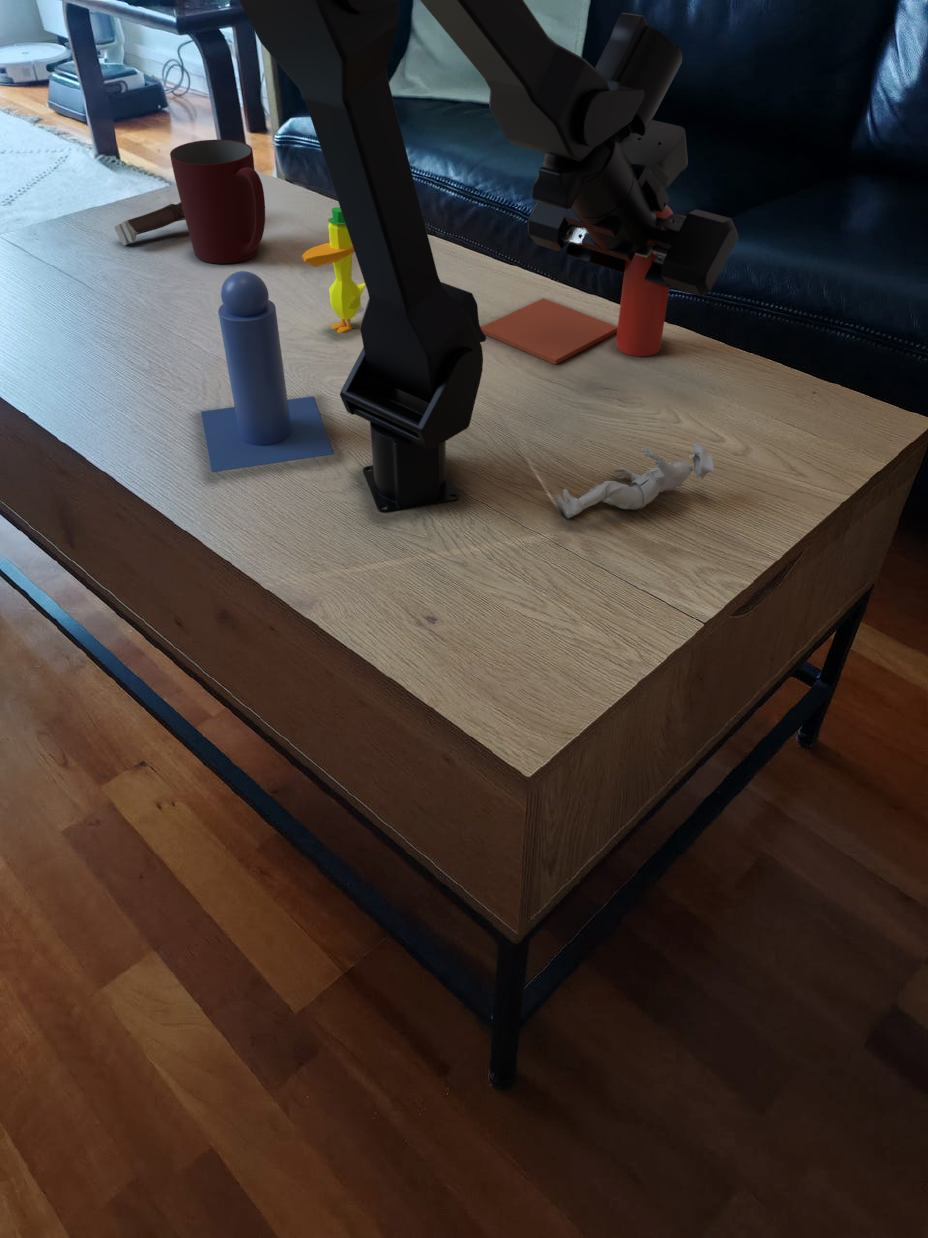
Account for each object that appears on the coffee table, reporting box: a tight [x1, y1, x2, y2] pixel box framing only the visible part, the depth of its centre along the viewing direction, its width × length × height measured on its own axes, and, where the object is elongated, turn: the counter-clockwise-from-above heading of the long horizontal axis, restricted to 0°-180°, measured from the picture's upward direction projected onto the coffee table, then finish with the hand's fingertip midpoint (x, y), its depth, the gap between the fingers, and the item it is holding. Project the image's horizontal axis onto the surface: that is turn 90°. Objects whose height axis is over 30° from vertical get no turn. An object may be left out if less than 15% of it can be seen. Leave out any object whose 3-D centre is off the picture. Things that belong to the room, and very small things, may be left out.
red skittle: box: [615, 205, 674, 357], centre depth 92 cm, size 4×4×14 cm
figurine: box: [114, 201, 186, 246], centre depth 116 cm, size 8×5×15 cm
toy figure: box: [301, 206, 366, 334], centre depth 94 cm, size 7×4×12 cm, turn 129°
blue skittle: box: [217, 270, 291, 445], centre depth 78 cm, size 4×4×14 cm
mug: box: [169, 139, 266, 264], centre depth 109 cm, size 12×9×11 cm
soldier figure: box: [555, 442, 715, 519], centre depth 75 cm, size 8×5×12 cm
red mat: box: [480, 297, 618, 365], centre depth 98 cm, size 10×10×1 cm
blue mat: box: [200, 395, 335, 473], centre depth 83 cm, size 10×10×1 cm
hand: (654, 277), depth 93 cm, fingers closed on red skittle, 4 cm apart
